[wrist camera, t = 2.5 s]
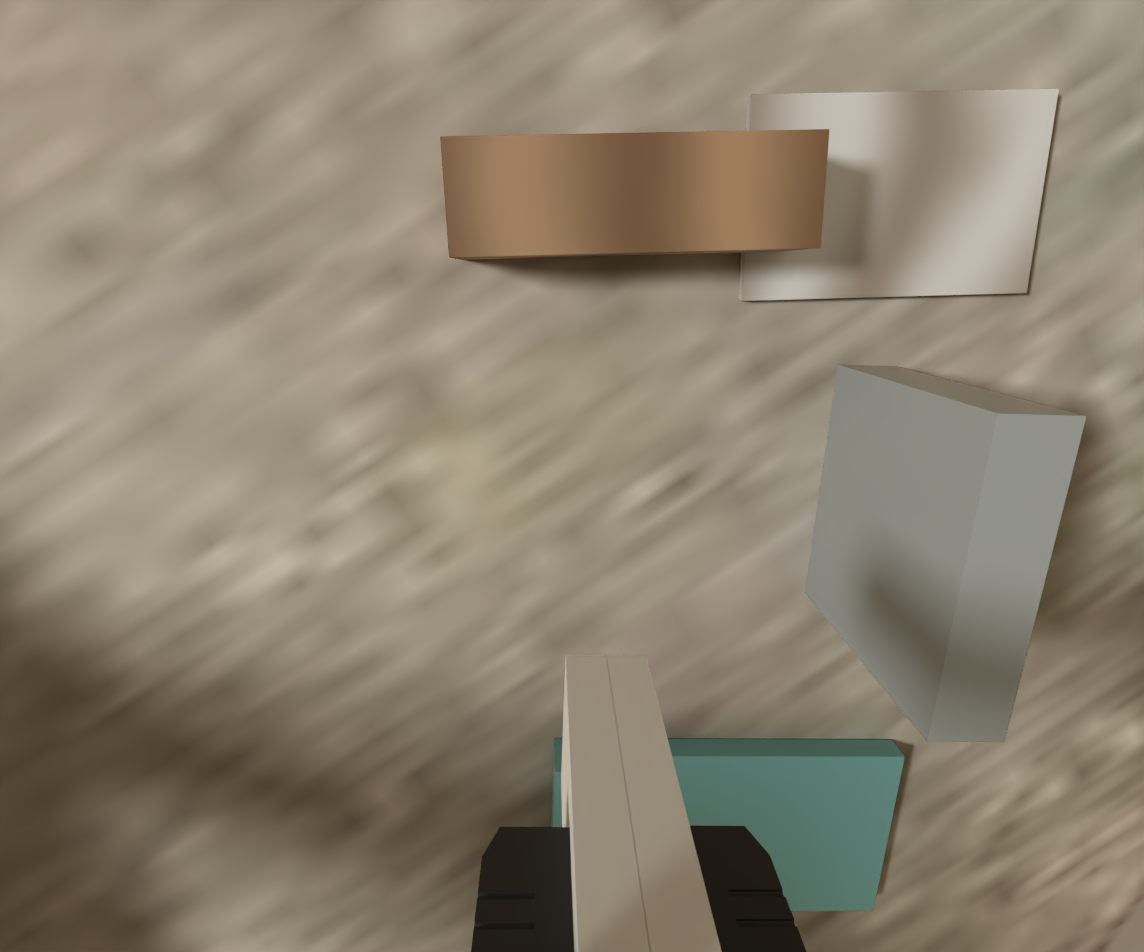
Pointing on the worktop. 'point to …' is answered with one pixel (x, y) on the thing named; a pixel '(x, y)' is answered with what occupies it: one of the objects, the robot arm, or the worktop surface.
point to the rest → (793, 808)
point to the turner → (781, 193)
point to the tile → (939, 539)
